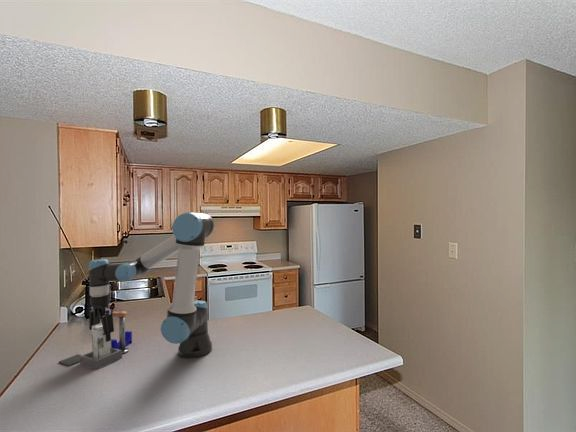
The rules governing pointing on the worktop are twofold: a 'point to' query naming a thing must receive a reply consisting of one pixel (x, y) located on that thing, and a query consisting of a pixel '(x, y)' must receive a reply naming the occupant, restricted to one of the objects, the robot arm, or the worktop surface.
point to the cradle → (98, 363)
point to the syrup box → (99, 342)
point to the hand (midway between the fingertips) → (102, 347)
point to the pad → (71, 360)
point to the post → (122, 335)
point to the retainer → (119, 314)
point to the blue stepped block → (127, 340)
